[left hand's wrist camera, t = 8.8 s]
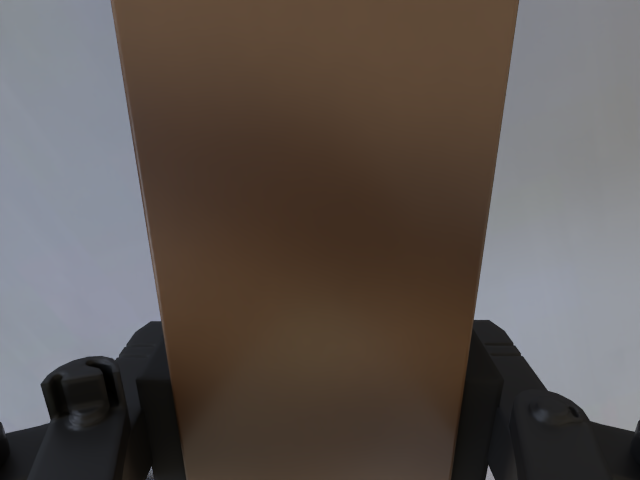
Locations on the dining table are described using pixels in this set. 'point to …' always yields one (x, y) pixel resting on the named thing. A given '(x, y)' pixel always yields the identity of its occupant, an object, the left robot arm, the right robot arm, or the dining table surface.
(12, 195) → the dining table surface
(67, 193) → the dining table surface
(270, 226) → the post
